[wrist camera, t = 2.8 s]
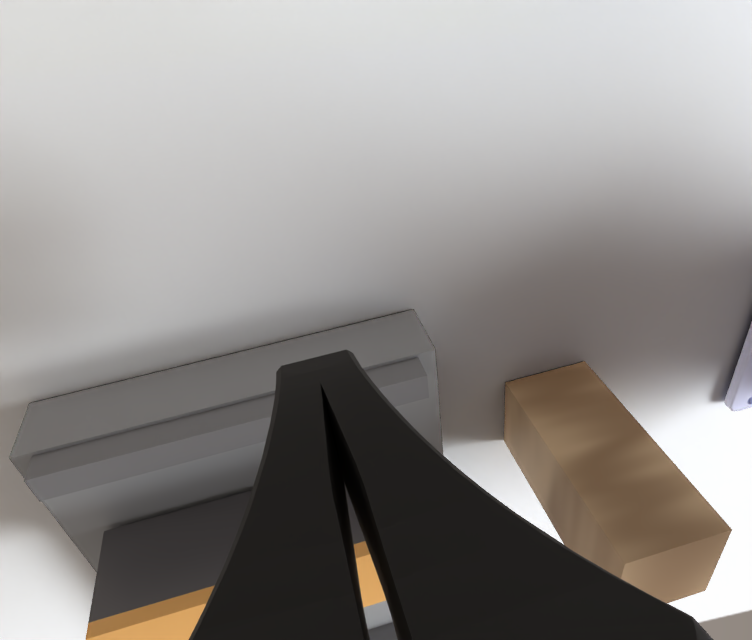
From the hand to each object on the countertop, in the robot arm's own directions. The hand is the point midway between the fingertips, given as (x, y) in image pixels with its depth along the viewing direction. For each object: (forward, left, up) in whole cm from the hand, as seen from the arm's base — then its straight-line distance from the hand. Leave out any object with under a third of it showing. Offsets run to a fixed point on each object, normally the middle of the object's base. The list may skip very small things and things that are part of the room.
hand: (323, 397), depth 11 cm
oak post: (-8, +8, -6) cm, 12 cm away
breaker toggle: (+2, +7, -3) cm, 8 cm away
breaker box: (+2, +10, -6) cm, 12 cm away
